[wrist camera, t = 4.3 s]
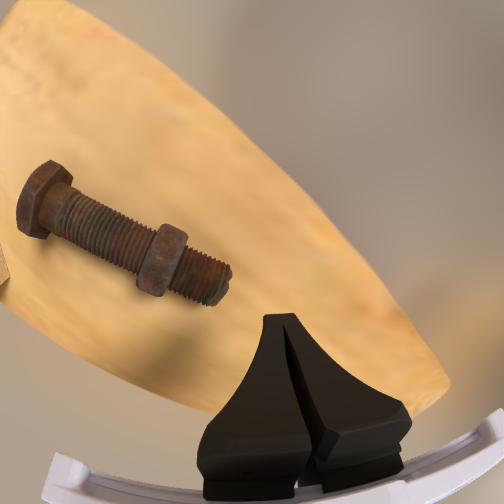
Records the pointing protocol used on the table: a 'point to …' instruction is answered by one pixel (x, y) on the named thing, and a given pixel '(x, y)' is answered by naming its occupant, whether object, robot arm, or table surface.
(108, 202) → the table surface
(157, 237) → the bolt
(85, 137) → the table surface
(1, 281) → the block
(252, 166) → the table surface
